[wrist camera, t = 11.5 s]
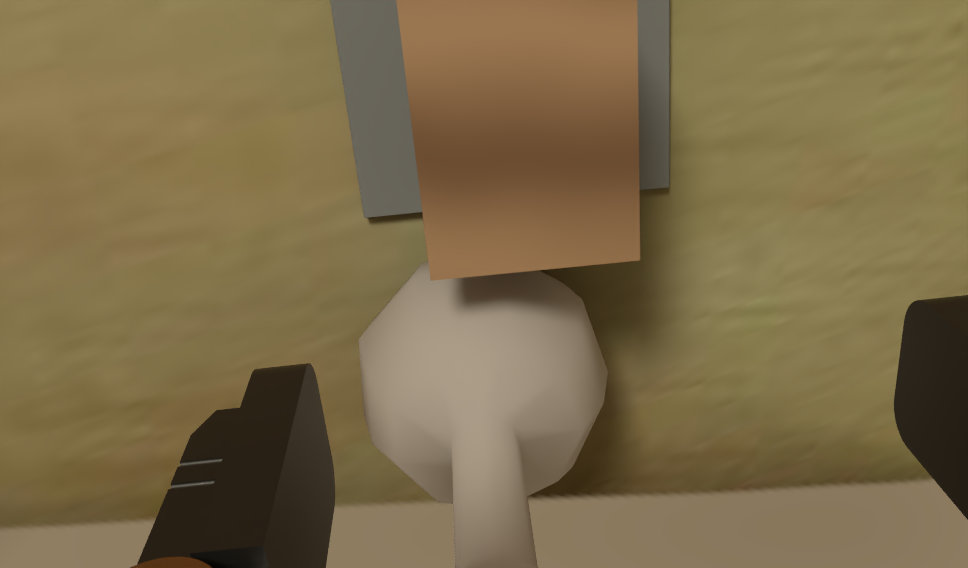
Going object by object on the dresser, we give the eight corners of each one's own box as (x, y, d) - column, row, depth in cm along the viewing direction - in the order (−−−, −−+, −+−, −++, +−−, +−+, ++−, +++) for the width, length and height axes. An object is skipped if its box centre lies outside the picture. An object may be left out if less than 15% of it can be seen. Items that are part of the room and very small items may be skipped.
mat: (365, 213, 32) (363, 217, 32) (323, -50, 28) (322, -49, 28) (666, 183, 32) (669, 187, 32) (666, -84, 28) (669, -83, 28)
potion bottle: (622, 263, 34) (798, 637, 17) (537, 448, 37) (617, 906, 21) (401, 192, 32) (364, 529, 16) (333, 392, 35) (245, 841, 19)
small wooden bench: (404, -39, 28) (395, -13, 22) (592, -57, 28) (636, -35, 22) (432, 198, 32) (430, 280, 25) (599, 181, 32) (640, 260, 25)
